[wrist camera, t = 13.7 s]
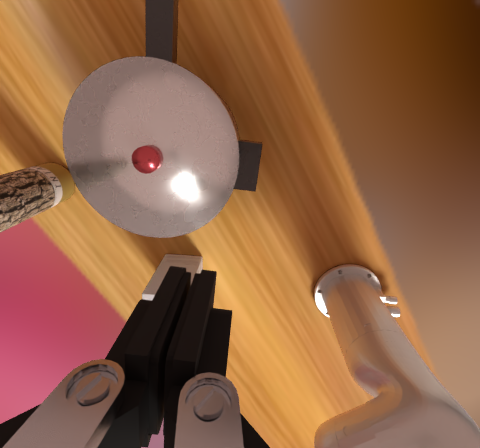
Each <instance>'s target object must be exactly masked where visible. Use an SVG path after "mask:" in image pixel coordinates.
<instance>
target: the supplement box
mask: <svg viewBox="0 0 480 448" xmlns="http://www.w3.org/2000/svg"><path fill="white" fill-rule="evenodd" d="M170 266H176V267H184V268H186V272H191V283H192V281H193V278H194V275H195V273H201V270H203V264H202V256H190V255H176V254H165V256H164V258H163V259H162V261H161V263H160V264H159V266H158V268H157V269H156V271H155V273H154V275H153V276H152V278H151V280H150V281H149V283H148V285H147V286H146V288H145V290H144V291H143V293H142V299H144V300H153V298H154V296H155V294H156V292H157V290H158V288H159V286H160V284H161V283H162V281H163V279H164V277H165V275H166V273H167V271H168V269H169V267H170Z"/></svg>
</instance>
